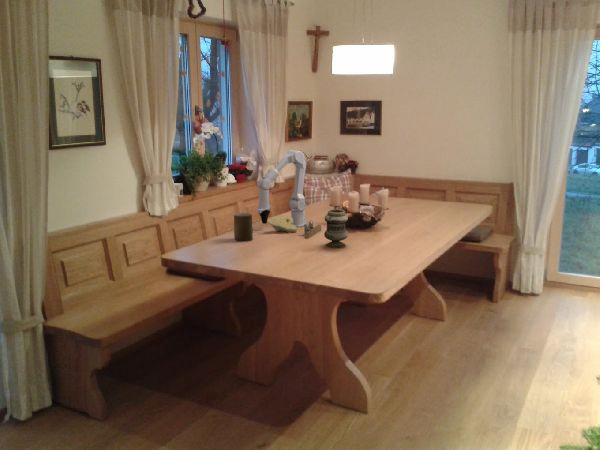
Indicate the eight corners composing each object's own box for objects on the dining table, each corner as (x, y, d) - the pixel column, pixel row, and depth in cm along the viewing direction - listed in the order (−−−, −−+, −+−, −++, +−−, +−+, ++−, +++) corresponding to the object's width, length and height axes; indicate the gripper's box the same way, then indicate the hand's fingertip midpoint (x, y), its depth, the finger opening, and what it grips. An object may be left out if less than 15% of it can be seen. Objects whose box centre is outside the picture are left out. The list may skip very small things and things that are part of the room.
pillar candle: (249, 242, 298) (249, 213, 295) (231, 241, 300) (231, 213, 297) (254, 238, 307) (254, 210, 304) (237, 237, 309) (236, 209, 306)
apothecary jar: (328, 249, 283) (328, 213, 279) (321, 243, 294) (321, 209, 290) (351, 247, 286) (351, 212, 282) (343, 241, 297) (343, 207, 293)
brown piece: (313, 229, 325) (313, 219, 323) (321, 230, 323) (321, 220, 322) (300, 237, 307) (300, 226, 305) (308, 238, 305) (308, 227, 304)
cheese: (298, 232, 327) (280, 215, 330) (302, 225, 321) (284, 207, 324) (281, 245, 317) (262, 227, 320) (285, 238, 311) (266, 219, 314)
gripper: (263, 197, 329) (263, 220, 332) (251, 201, 316) (252, 225, 319) (274, 198, 327) (274, 221, 330) (263, 202, 314) (264, 226, 317)
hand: (264, 223), depth 324 cm, fingers closed
